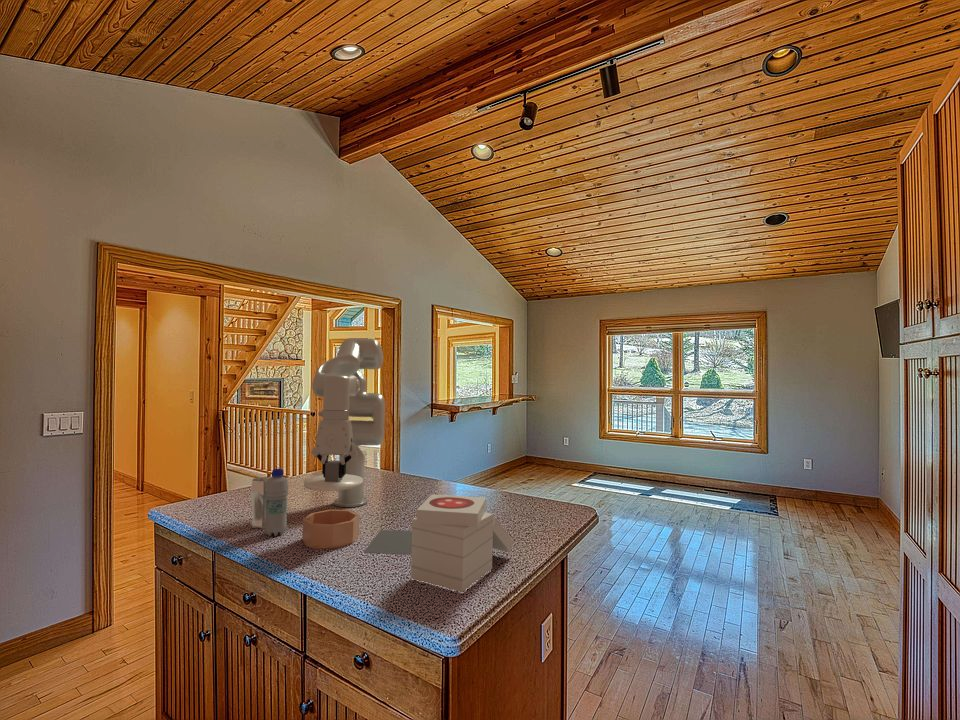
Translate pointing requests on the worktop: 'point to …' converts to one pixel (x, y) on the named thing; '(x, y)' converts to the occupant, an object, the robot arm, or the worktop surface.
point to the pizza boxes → (455, 541)
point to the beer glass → (258, 501)
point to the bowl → (330, 528)
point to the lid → (332, 479)
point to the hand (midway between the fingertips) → (334, 476)
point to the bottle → (276, 503)
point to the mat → (391, 542)
